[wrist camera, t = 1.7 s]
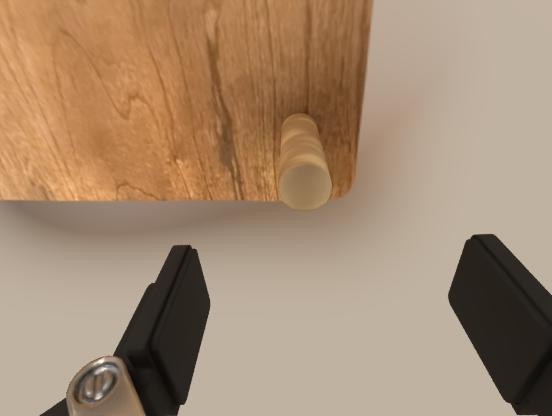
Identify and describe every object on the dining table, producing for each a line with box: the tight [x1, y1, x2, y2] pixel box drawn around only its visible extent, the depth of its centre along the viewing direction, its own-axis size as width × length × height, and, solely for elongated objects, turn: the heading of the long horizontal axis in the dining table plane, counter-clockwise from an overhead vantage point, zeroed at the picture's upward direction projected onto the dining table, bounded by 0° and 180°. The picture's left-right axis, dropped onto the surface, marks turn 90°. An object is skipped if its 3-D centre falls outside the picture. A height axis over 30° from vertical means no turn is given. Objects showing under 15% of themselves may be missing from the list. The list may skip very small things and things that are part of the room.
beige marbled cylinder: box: [279, 113, 332, 211], centre depth 26 cm, size 4×4×12 cm
